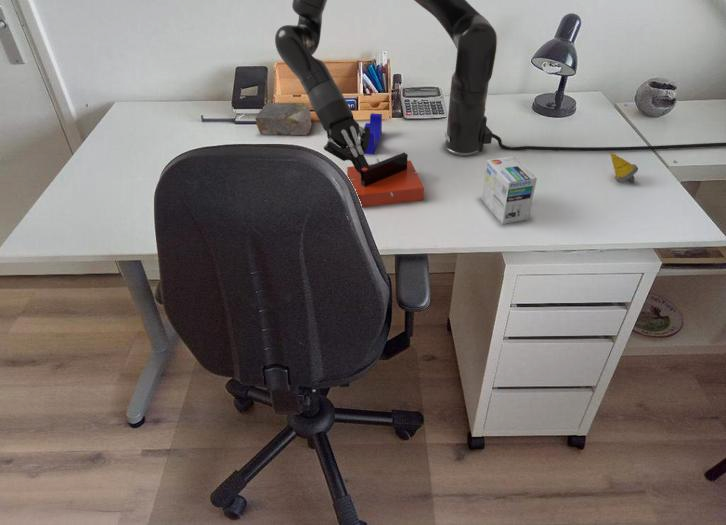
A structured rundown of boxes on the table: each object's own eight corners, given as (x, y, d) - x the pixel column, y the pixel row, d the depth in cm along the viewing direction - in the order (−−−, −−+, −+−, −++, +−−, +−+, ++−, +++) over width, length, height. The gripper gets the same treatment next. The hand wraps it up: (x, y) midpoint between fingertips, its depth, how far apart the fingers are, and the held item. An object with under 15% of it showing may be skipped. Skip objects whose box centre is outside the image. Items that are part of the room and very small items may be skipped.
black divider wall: (403, 166, 133) (404, 151, 130) (407, 169, 132) (407, 153, 129) (360, 184, 127) (360, 168, 124) (364, 186, 126) (364, 170, 123)
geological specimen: (262, 102, 160) (312, 100, 158) (265, 121, 164) (314, 120, 162) (253, 116, 151) (306, 115, 150) (257, 137, 155) (308, 135, 154)
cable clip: (366, 132, 155) (365, 112, 151) (381, 134, 154) (381, 114, 150) (357, 153, 146) (356, 132, 142) (373, 154, 145) (373, 133, 141)
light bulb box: (529, 220, 121) (538, 178, 114) (501, 225, 119) (509, 183, 112) (506, 195, 129) (513, 154, 122) (480, 199, 127) (486, 159, 120)
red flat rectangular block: (410, 168, 139) (410, 155, 137) (428, 204, 126) (429, 191, 124) (343, 175, 137) (343, 162, 135) (355, 213, 124) (354, 199, 122)
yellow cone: (629, 192, 130) (605, 160, 128) (620, 189, 135) (596, 158, 133) (648, 177, 129) (624, 145, 127) (638, 174, 134) (614, 143, 132)
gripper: (312, 106, 119) (349, 176, 120) (359, 90, 126) (393, 156, 126) (301, 121, 126) (336, 187, 126) (345, 105, 132) (378, 168, 133)
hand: (364, 172), depth 126 cm, fingers closed
